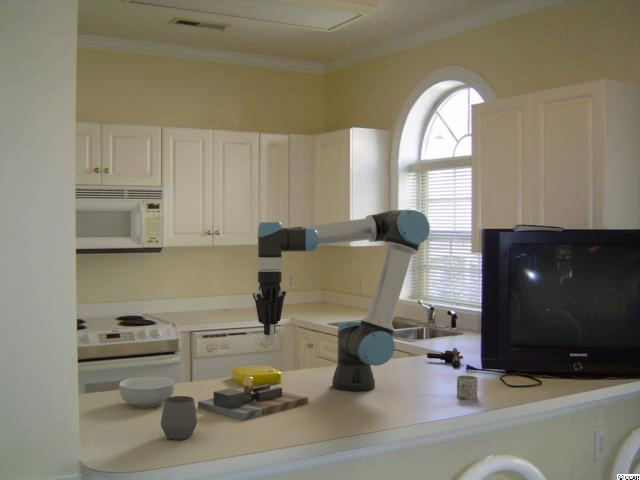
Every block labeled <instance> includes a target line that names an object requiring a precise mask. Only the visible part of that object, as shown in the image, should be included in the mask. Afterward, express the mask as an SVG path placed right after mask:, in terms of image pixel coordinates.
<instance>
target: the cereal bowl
mask: <svg viewBox="0 0 640 480" xmlns="http://www.w3.org/2000/svg"><path fill="white" fill-rule="evenodd" d="M118 390H119V391H118V392H119V395H120V397H121V399H122V400H123V401H125V402H126V403H128V404H132V405H134V406H135V407H137V408H153V407H158V406H160V404H161V403H164V402H165V399H166V398H168V397H172V395H173V393H174V390H175V380H173V379H172V378H170V377H165V376H139V377H132V378H127V379H124V380H121V381H120V382H119V384H118Z"/></svg>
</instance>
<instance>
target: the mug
mask: <svg viewBox="0 0 640 480" xmlns="http://www.w3.org/2000/svg"><path fill="white" fill-rule="evenodd" d="M456 378H457V379H456V398H458V399H462V400H476V399H477V398H478V377H476V376H474V375H466V374H465V375H464V374H463V375H458V376H457V377H456Z"/></svg>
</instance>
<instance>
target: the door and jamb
mask: <svg viewBox="0 0 640 480" xmlns="http://www.w3.org/2000/svg"><path fill="white" fill-rule="evenodd" d="M213 399H214V397H213V398H208V399H204V400H199V401H197V408H198V409H200V410H202V411H203V410H204V411H207V412H211V413H214V414H219V415H222V416H225V417H229V418H233V419H236V420H241V421H246V420H249V419H254V418H258V417H261V416H266V415H269V414H273V413H276V412H277V413H278V412H280V411H284V410H289V409H291V408H296V407H300V406H303V405H307V404H309V402H308V401H309V400H308V399H309V397H308V396H303V395H299V394H294V393H291V392H285V391H282V397H278V398H274V399H270V400H265V401H261V402H258V401H256V400H252V401H248V402H245V405H244V406H240V407H236V408H232V409H227V408H223V407H219V406H215V405H213Z"/></svg>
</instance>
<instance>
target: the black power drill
mask: <svg viewBox="0 0 640 480" xmlns="http://www.w3.org/2000/svg"><path fill="white" fill-rule="evenodd" d="M460 353H461V351H458V349H457V347H453V349H452V350H445V351H444V352H440V353H434V352H427V353H426V359H436V360H437V359H438V360H440V361H444V363H445V364H446V363H447V364H452V365H453V367H454V368H458V367H460V365H461V360H463V359H464V356H463V355H460Z"/></svg>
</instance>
